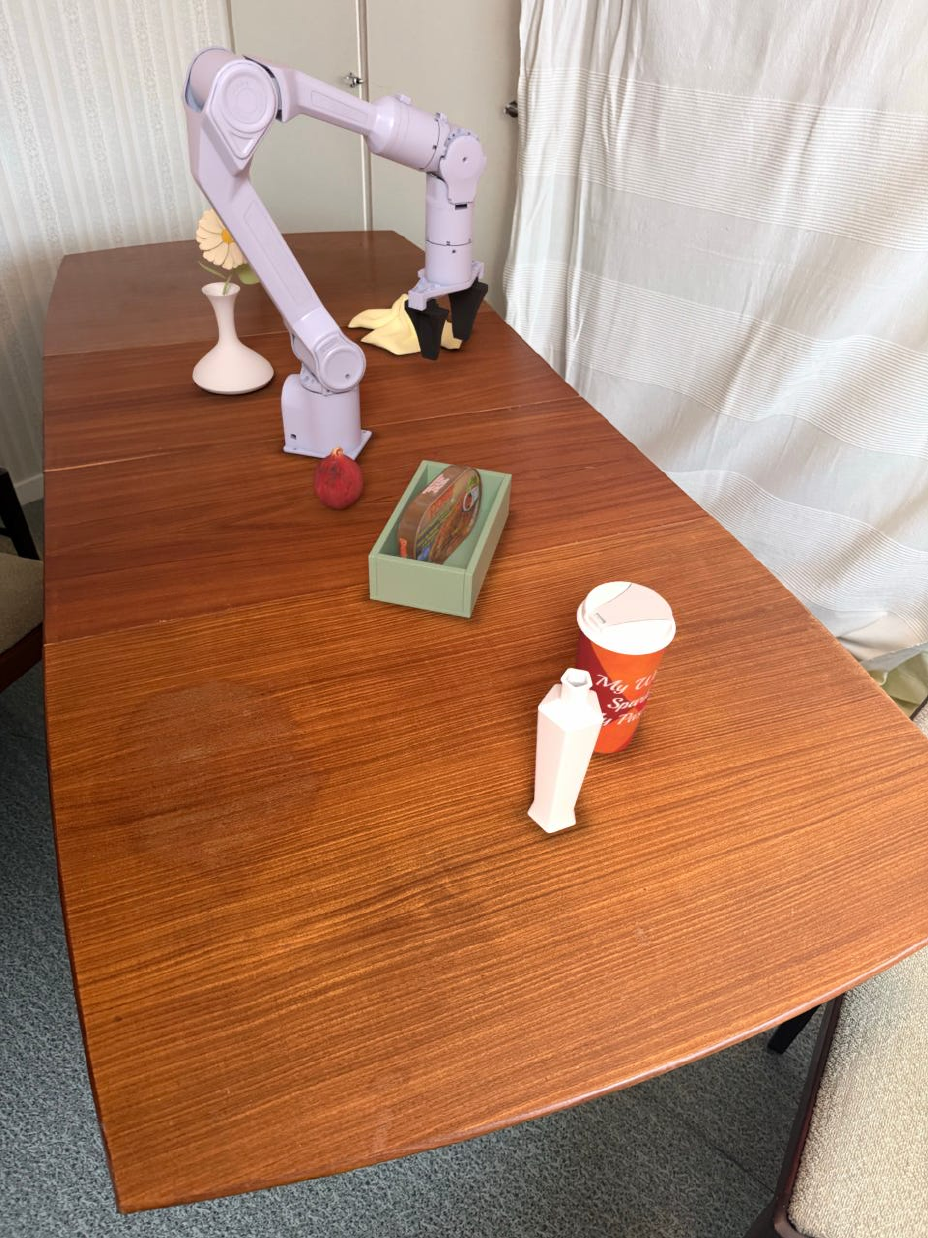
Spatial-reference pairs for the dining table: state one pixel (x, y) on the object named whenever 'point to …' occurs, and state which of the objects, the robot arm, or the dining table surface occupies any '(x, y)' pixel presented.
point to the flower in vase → (227, 318)
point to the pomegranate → (338, 480)
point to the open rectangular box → (462, 570)
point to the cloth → (397, 329)
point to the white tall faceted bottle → (564, 748)
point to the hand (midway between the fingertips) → (445, 348)
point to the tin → (440, 516)
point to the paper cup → (622, 654)
